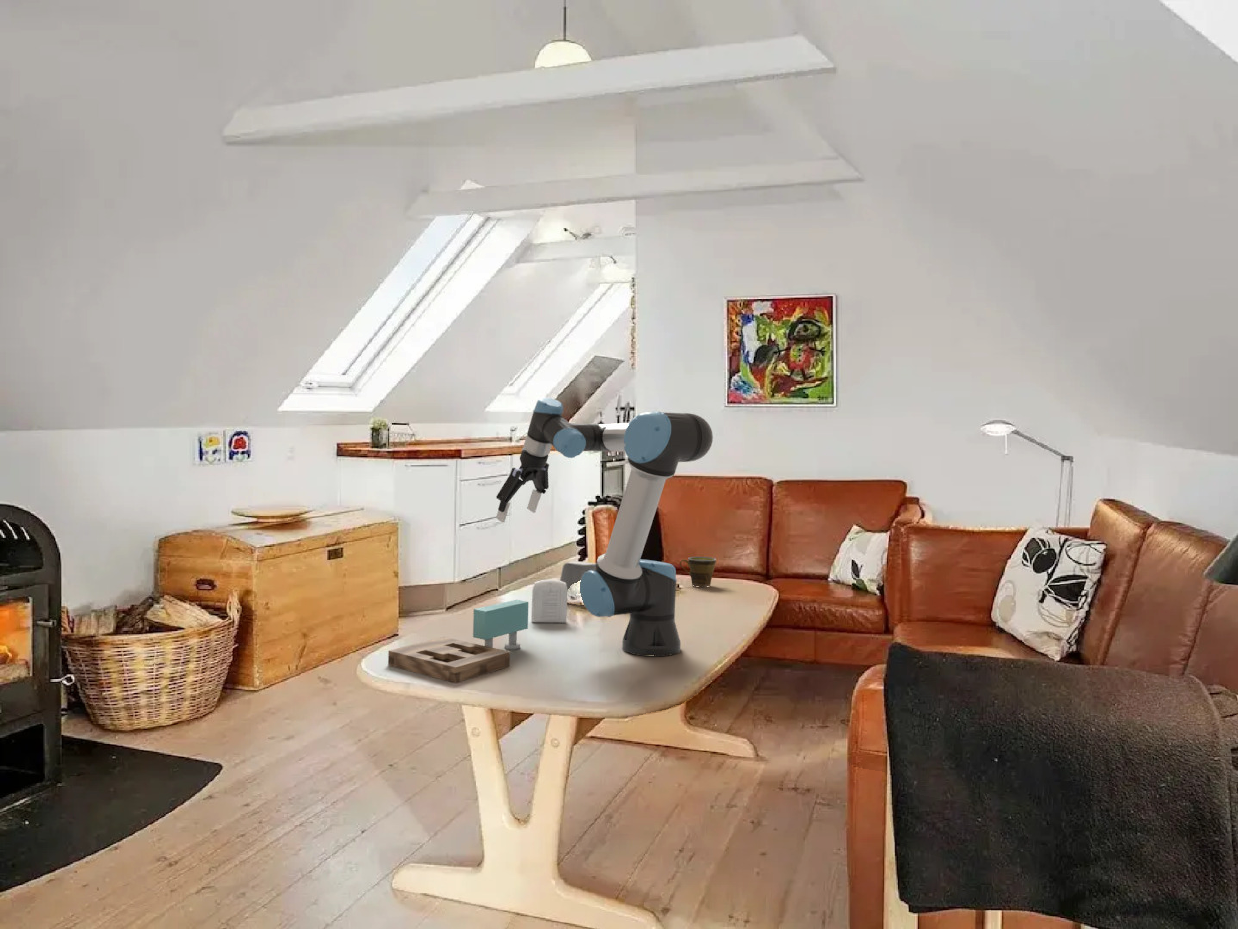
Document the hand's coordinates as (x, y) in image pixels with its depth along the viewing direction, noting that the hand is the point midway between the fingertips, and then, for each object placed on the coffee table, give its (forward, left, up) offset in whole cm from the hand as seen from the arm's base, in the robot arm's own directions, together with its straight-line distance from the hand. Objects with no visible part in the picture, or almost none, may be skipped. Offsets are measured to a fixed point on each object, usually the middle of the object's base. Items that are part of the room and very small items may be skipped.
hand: (515, 515), depth 262 cm
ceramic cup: (-10, -88, -31) cm, 94 cm away
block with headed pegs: (-19, +27, -31) cm, 45 cm away
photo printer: (-7, -7, -31) cm, 33 cm away
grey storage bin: (-2, -40, -31) cm, 51 cm away
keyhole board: (-19, +45, -31) cm, 58 cm away
